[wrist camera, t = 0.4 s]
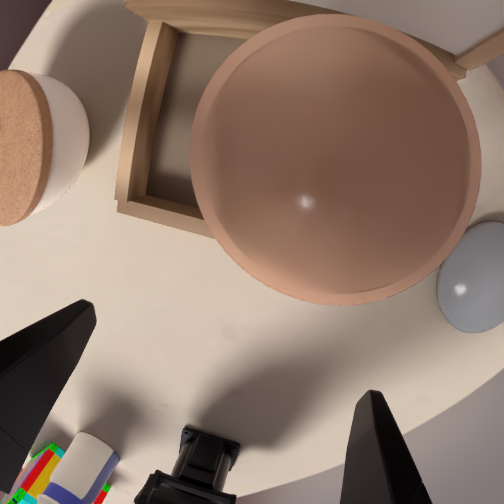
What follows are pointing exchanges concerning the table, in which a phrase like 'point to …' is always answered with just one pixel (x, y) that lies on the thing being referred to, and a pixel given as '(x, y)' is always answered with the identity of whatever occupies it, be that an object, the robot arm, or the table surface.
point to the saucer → (474, 279)
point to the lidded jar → (38, 143)
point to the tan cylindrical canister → (335, 159)
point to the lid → (437, 23)
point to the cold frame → (189, 96)
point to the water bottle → (80, 472)
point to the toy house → (40, 478)
